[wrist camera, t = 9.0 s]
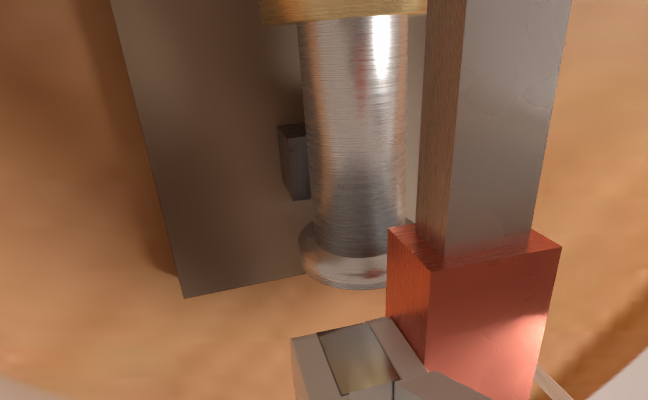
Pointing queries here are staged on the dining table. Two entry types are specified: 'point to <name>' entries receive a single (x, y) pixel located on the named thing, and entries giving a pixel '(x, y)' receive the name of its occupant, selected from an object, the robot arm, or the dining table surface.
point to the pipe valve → (348, 132)
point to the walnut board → (230, 133)
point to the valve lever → (480, 195)
